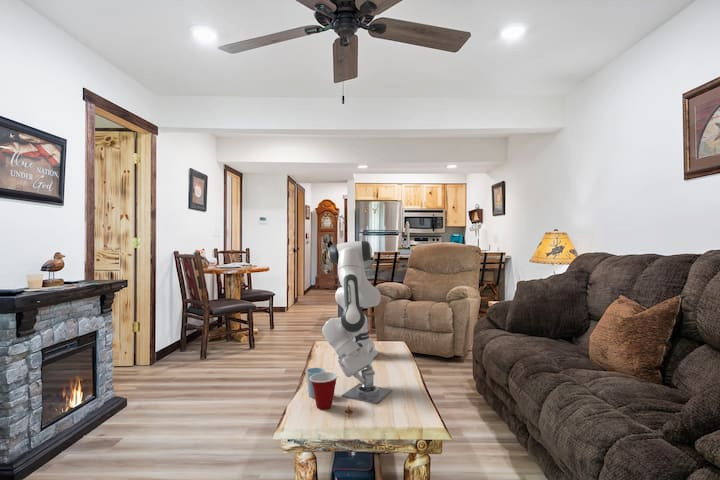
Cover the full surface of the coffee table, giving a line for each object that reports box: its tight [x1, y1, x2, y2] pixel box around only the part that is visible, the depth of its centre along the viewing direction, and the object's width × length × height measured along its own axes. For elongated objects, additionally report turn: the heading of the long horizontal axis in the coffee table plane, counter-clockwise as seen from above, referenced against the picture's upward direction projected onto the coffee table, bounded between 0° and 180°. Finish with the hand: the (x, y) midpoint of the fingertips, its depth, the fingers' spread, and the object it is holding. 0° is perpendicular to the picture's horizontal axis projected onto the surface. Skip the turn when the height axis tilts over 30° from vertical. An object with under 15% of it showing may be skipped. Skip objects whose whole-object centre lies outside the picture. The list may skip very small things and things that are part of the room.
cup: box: [305, 367, 326, 399], centre depth 166 cm, size 8×8×10 cm
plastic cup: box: [310, 371, 339, 411], centre depth 155 cm, size 11×11×12 cm
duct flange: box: [341, 382, 393, 405], centre depth 169 cm, size 16×16×2 cm
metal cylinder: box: [360, 368, 375, 392], centre depth 169 cm, size 5×5×9 cm
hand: (368, 378), depth 169 cm, fingers open, 8 cm apart
